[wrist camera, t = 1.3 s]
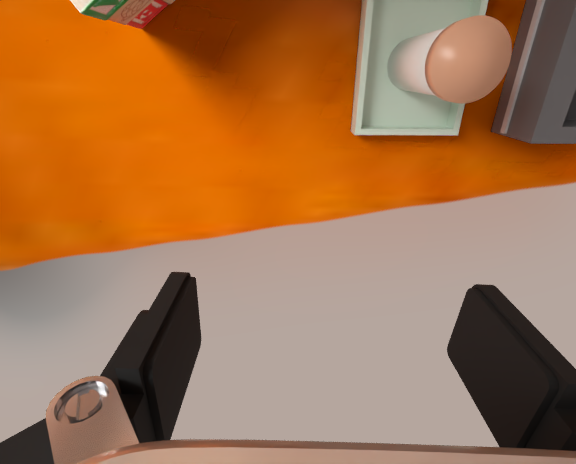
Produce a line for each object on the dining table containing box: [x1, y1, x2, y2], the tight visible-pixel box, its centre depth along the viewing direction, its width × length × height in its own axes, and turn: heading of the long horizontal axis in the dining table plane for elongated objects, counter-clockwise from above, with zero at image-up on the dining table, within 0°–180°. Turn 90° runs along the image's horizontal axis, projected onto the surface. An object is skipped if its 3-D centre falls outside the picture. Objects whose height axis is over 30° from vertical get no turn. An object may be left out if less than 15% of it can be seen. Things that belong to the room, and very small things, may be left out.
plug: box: [387, 15, 512, 104], centre depth 23 cm, size 4×4×10 cm
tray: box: [351, 0, 489, 135], centre depth 27 cm, size 11×9×2 cm
